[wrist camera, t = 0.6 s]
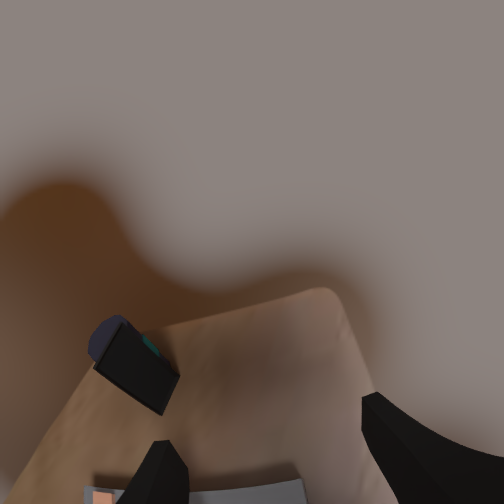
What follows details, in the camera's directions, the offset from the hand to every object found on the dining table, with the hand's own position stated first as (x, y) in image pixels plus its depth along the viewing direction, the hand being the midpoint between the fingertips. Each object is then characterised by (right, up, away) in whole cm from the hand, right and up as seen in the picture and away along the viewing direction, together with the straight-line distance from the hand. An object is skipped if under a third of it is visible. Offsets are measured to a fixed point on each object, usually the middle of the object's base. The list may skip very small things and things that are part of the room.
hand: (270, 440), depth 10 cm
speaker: (-12, -8, +22) cm, 27 cm away
